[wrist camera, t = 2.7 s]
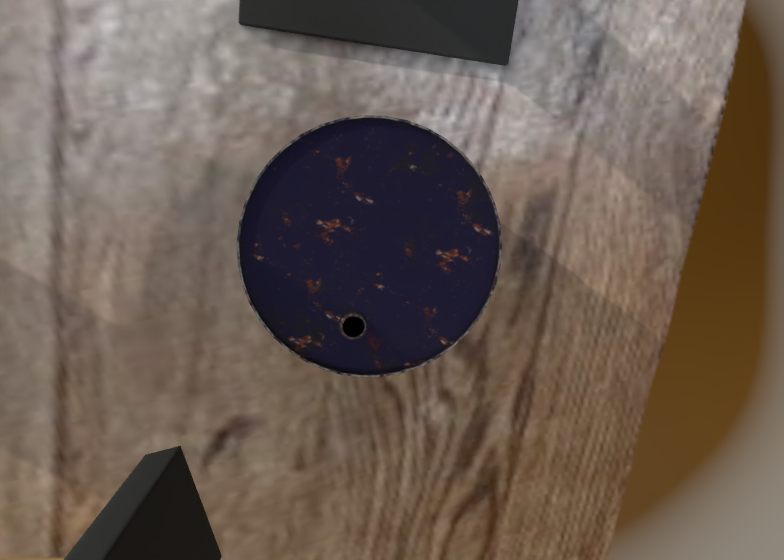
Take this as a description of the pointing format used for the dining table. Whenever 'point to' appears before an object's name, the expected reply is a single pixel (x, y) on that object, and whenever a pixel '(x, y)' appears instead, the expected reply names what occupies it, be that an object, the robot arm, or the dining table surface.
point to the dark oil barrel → (369, 246)
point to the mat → (397, 24)
